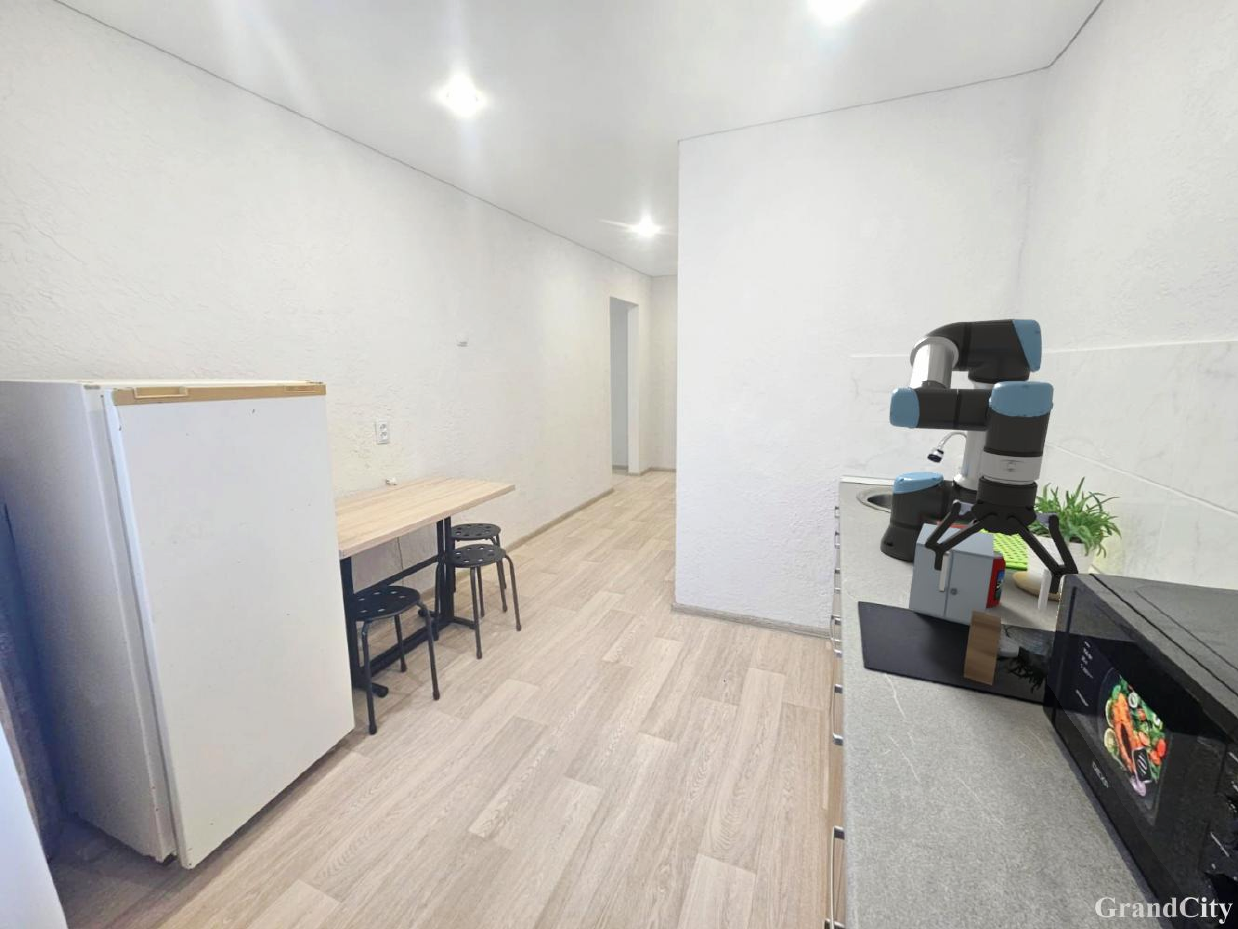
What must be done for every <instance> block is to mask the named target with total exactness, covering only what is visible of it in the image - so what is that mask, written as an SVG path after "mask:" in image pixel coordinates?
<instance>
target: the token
mask: <svg viewBox="0 0 1238 929" xmlns="http://www.w3.org/2000/svg"><path fill="white" fill-rule="evenodd" d="M1019 649H1020V643H1018V641H1016V640H1015V639H1013V638H1012V637H1009V636H1006V635H1003V634H1000V640H999V646H998V652H997V656H1000V657H1004V658H1016V657H1018V655H1019Z"/></svg>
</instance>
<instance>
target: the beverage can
mask: <svg viewBox="0 0 1238 929" xmlns="http://www.w3.org/2000/svg"><path fill="white" fill-rule="evenodd" d="M1006 566H1007V562H1006V559H1005V558H1004V554H1003V553H1002V552H1000V551H997V550H995V549H994V558H993V565H992V571H991V578H990V584H989V591H988V597H987V604H986V608H990V607H994V606H998V605H999V604H1000V603H1001V597H1002V592H1003V585H1004V578H1005V572H1006Z"/></svg>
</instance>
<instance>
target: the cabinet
mask: <svg viewBox="0 0 1238 929" xmlns="http://www.w3.org/2000/svg"><path fill="white" fill-rule="evenodd" d="M938 525H939V524H937V525H932V524H926V523H924V525H923V527H922V530H921V532H920V535H919V537H918V540H917V542H916V550H915V558H914V561H913V566H912V567H913V570H912V577H911V585H910V586H911V587H910V594H909V602H908V609H909V610H912V612H914V613H917V614H918V613H919V614H923V615H926V616H931V617H934V618H937V619H938V618H939V619H942V620H946V621H949V622H954V623H957V624H962V625H966V626H969V627H970V624H971V617H972V610H973V611H977V612H981V613H985V614H986V609H987V607H986V604H987V597H988V591H989V584H990V578H991V571H992V565H993V558H994V550H995V542H994V538H995V536H994V534H995V533H988V532H983V531H979V532H977V533H975V534H973V535H971V536H970V537H968V538H967V539H965V540H964V541H962V542H961V543H959V544H958V545H956V546H955V547H953V548H951V549H950V550H948V552H949V559H948V567H947V574H946V582H945V588H944V591H942V590H939V585H940V577H941V571H938V570H935V568H934V564H935V556H936V554H935V552H934V551H933V550H931V549H927V548H925V542H926V540H927V538H928V537H929V536H930V535H931V534H932V532H933V531H934V530H935V529H936V528H937V527H938ZM961 529H962V528H957V527H952V526H950V527H949V529H948V530H947V531H946V532H945V533H944V534H943V536H942V537H941V538H940V539H939V540H938V541H937V543H939V544H940V543H941V542H943V541H944V540H946V539H947V538H949V537H950V536H952V535H953V534H955V533H956V532H958V531H959V530H961Z"/></svg>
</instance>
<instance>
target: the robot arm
mask: <svg viewBox="0 0 1238 929" xmlns="http://www.w3.org/2000/svg"><path fill="white" fill-rule="evenodd" d="M1042 341H1043V340H1042V330H1041V325H1040V322H1038V321H1037V320H1035V319H1030V318H1029V319H1025V318H1024V319H1019V318H1018V319H1017V318H1009V319H994V320H993V319H991V320H976V321H975V320H973V321H957V322H952V323H947V324H945V325H942V326H940V327H938V328H935V329H933V330H931V331H930V332H927V333H926V334H924V335H923V336H921V337H920V339H919V340H918V341H917V342H916V343H915V344H914V346H913V347H912V350H911V352H910V356H909V360H910V361H909V363H910V366H911V372H910V375H909V377H908V378H909V380H908V383H907V387H901V388H899V387H898V388H895V389H894V390H893V391H892V393H891V397H890V406H889V423H890V425H891V426H893V427H898V428H908V429H913V430H914V429H922V430H923V429H924V430H925V429H926V430H947V431H948V430H950V431H963V432H964V431H966V438H965V446H964V449H963V459H962V466H961V470H960V471H957V472H956V473H955V474H954V475H953V478H952V480H948V479H944V475H943V474H941V473H939V472H931V471H930V472H929V471H917V472H916V471H915V472H914V471H913V472H906V473H902V474H900V475H897V476H896V477H895V479H894V481H893V486H892V487H893V488H892V490H891V493H892V499H891V506H890V515H889V523H888V526H887V527H886V529H885V532H884V533H883V536H882V537H881V540H880V544H879V548H880V550H881V552H882V553H884V554H886V555H888V556H890V557H893V558H896V559H899V560H903V561H907V562H914V558H915V550H916V542H917V540H918V537H919V535H920V532H921V530H922V527H923V525H924V523H926V524H932V525H938V527H937V528H936V529H935V530H934V531H933V532H932V534H931V535H930V536H929V537H928V538H927V540H926V542H925V548H927V549H931V550H933V551H934V552H935V554H936V556H935V564H934V568H935V570H938V571H941V577H940V585H939V590H942V591H944V588H945V582H946V574H947V567H948V559H949V552H948V550H950V549H951V548H953V547H955V546H956V545H958V544H959V543H961V542H962V541H964V540H965V539H967V538H968V537H970V536H971V535H973V534H975V533H977V532H981V531H982V530H984V531H987V533H989V534H1001V535H1004V536H1007V537H1008V536H1009V537H1012V536H1015V535H1018V536H1019V537H1020V538H1021V540H1022V541H1023V542H1025V543H1026V544H1027V546H1028V547H1029V548H1030V549H1031V551H1032V552H1033V553H1034V554H1035V555H1036V557H1038V558H1039V560H1040V561H1041V562H1042V563H1043V565H1044V566H1045V567H1046V568H1044V569H1043V574H1042V579H1041V584H1040V590H1039V594H1038V595H1039V596H1038V600H1037V601H1038V602H1037V609H1038V613H1041V614H1046V609H1047V604H1048V599H1049V594H1052V595H1057V594H1058V593H1059V589H1060V585H1061V580H1062V578H1063V577H1064V576H1068V575H1067V574H1078V575H1079V569H1078V567H1077V564H1076V561H1075V560H1074V558H1073V555H1072V553H1071V551H1070V549H1069V547H1068V545H1067V543H1066V541H1065V538H1064V536H1063V534H1062V532H1061V530H1060V516H1059V515H1058V512H1056V511H1053V510H1052V511H1051V510H1050V511H1049V512H1036V510H1035V504H1036V498H1037V493H1038V486H1039V484H1038V483H1037V482H1036V481H1037V480H1039V479H1040V474H1041V469H1042V463H1043V458H1044V457H1043V456H1044V449H1045V443H1046V438H1047V433H1048V428H1049V424H1050V418H1051V412H1052V410H1053V408H1054V402H1053V398H1054V391H1055V390H1054V386H1053V385H1052V384H1051V383H1049V382H1046V381H1045V382H1044V381H1043V382H1042V381H1035V380H1034V381H1032V380H1031V381H1030V374H1031V373H1035V372H1038V371H1040V370H1041V366H1042V364H1041V363H1042V358H1043V357H1042V354H1043V352H1042V351H1043V346H1042V345H1043V342H1042ZM953 372H959V373H960V372H967V380H968V381H969V382H970V383H971V384H973V388H952V386H951V385H952V376H953ZM1036 521H1038V522H1040V523H1041V526H1043V527H1044V528H1048V532H1049V534H1050V538H1052V541H1053V542H1054V544H1055V547H1056V549H1057V551H1058V554H1059V556H1060V559H1061V560H1062V562H1063V563H1062V564H1059V563H1058V561H1056V559H1055V558H1054V557H1053V556H1052V555H1051V553H1050V552H1049V551H1048V550H1047V548H1046V547H1045V546H1044V545H1043V544H1042V543H1041V542H1040V541H1039V539H1038V538H1037V537H1036V536H1035V534H1033V532H1032V530H1031V529H1030V528H1029V526H1031V525H1033V523H1035V522H1036ZM938 523H939V524H938ZM952 525H961V526H964V527H962V528H960V529H961V530H959V531H958V532H956V533H955V534H953V535H952V536H950V537H949V538H947V539H946V540H944V541H943V542H941V543H940V544H939V543H937V541H938V540H939V539H940V538H941V537H942V536H943V534H944V533H945V532H946V531H947V530H948V529H949V527H952Z"/></svg>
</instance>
